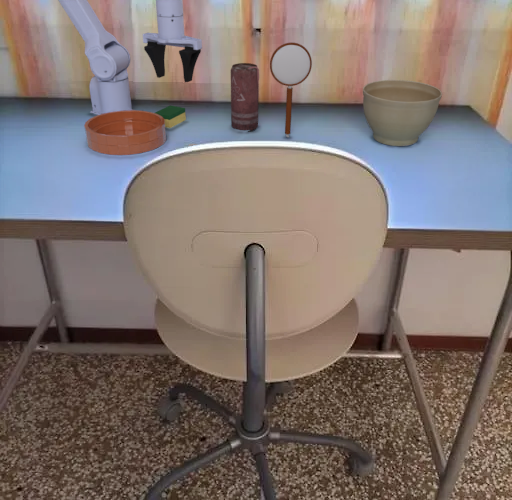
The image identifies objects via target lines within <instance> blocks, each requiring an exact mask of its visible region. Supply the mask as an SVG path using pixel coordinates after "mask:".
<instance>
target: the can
mask: <svg viewBox="0 0 512 500" xmlns="http://www.w3.org/2000/svg"><path fill="white" fill-rule="evenodd" d="M231 66H232V67H231V68H230V118H231V119H230V121H231V123H230V124H231V125H230V126H231V128H233V129H234V130H237V131H247V133H251V132H254V131H256V130H257V129H258V128H259V95H260V94H259V90H260V86H259V85H260V83H259V82H260V69H259V67H258V65H257V64H254V63H251V62H250V63H249V62H240V63H239V62H238V63H234V64H232V65H231Z"/></svg>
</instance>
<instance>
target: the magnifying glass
mask: <svg viewBox="0 0 512 500" xmlns="http://www.w3.org/2000/svg"><path fill="white" fill-rule="evenodd" d="M312 66H313V61H312V56H311V54H310V52H309V51H308V49H307V48H306V47H305V46H304V45H302V44H300V43H298V42H286V43H283V44H281V45H280V46H278V47H277V48H276V49H275V50H274V51H273V53H272V55H271V56H270V61H269V70H270V73H271V75H272V77H273V79H274V80H275V82H277V83H279V84H280V85H282V86H286V99H285V123H284V124H285V125H284V134H285V137H286V138H287V139H288V138H290V135H291V129H292V109H293V108H292V107H293V90H294V89H293V86H298V85H300V84H302V83H303V82H304V81H306V79H307V78H308V77H309V75H310V74H311V71H312V68H313V67H312Z"/></svg>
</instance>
